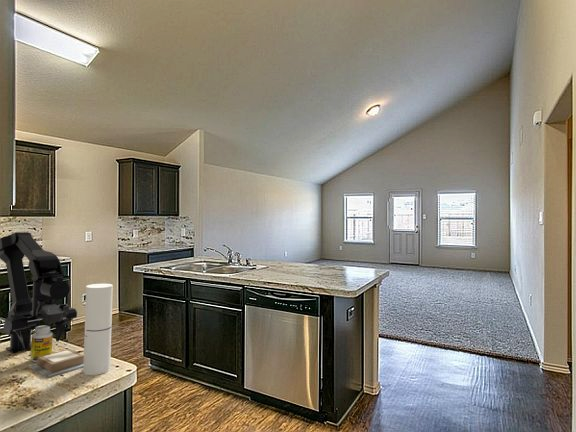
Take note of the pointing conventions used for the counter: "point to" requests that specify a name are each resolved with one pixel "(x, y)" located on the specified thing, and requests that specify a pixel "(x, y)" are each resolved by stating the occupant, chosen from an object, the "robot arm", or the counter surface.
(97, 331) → the cylindrical container
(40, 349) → the supplement bottle
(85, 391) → the counter surface
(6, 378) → the counter surface
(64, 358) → the tiered square riser
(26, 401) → the counter surface
